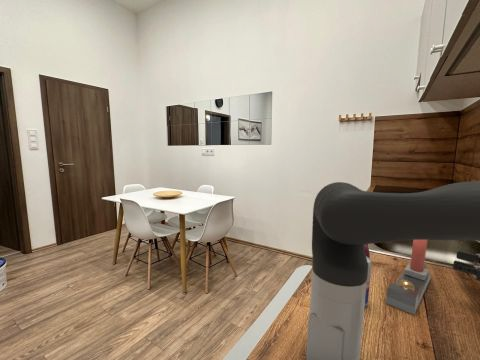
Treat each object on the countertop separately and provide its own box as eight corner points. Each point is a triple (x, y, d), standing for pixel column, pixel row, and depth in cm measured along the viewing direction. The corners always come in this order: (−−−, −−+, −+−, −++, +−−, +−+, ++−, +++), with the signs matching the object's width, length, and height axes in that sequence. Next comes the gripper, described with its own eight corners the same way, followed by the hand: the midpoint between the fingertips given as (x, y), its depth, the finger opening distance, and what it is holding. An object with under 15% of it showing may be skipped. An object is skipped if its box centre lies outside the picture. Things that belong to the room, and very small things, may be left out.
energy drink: (353, 310, 60) (357, 264, 58) (340, 297, 65) (343, 254, 64) (372, 307, 61) (377, 262, 59) (358, 294, 67) (362, 252, 65)
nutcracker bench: (414, 315, 59) (416, 293, 58) (385, 303, 63) (388, 283, 62) (429, 279, 74) (432, 262, 73) (406, 272, 78) (408, 255, 78)
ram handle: (424, 280, 70) (432, 223, 67) (404, 273, 73) (410, 219, 71) (427, 274, 73) (435, 219, 71) (408, 268, 77) (414, 215, 74)
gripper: (549, 258, 59) (459, 238, 71) (560, 280, 49) (454, 254, 61) (542, 286, 61) (455, 263, 72) (552, 314, 51) (449, 282, 62)
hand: (455, 259), depth 66 cm, fingers open, 8 cm apart
